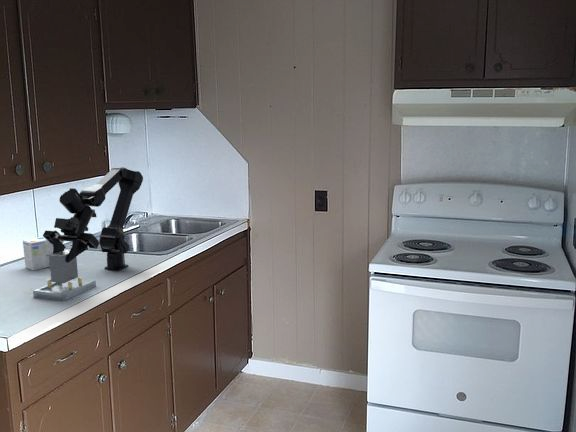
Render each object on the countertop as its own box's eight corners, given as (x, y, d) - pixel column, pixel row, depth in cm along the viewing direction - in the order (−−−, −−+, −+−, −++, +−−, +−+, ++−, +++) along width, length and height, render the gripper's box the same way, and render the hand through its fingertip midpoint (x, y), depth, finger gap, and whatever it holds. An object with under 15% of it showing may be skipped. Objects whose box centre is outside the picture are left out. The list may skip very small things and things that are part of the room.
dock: (66, 282, 203) (65, 270, 202) (95, 285, 199) (95, 273, 198) (33, 296, 188) (32, 284, 187) (64, 301, 184) (63, 288, 184)
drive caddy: (66, 275, 197) (64, 249, 195) (78, 276, 196) (76, 250, 194) (51, 281, 191) (48, 255, 189) (63, 283, 189) (61, 256, 187)
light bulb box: (50, 261, 229) (48, 234, 226) (60, 264, 224) (57, 237, 222) (24, 267, 221) (21, 239, 218) (33, 270, 216) (30, 242, 214)
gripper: (44, 206, 195) (22, 246, 187) (91, 209, 189) (71, 251, 181) (62, 224, 204) (42, 263, 196) (107, 228, 198) (89, 268, 190)
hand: (60, 261), depth 190 cm, fingers closed on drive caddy, 5 cm apart
